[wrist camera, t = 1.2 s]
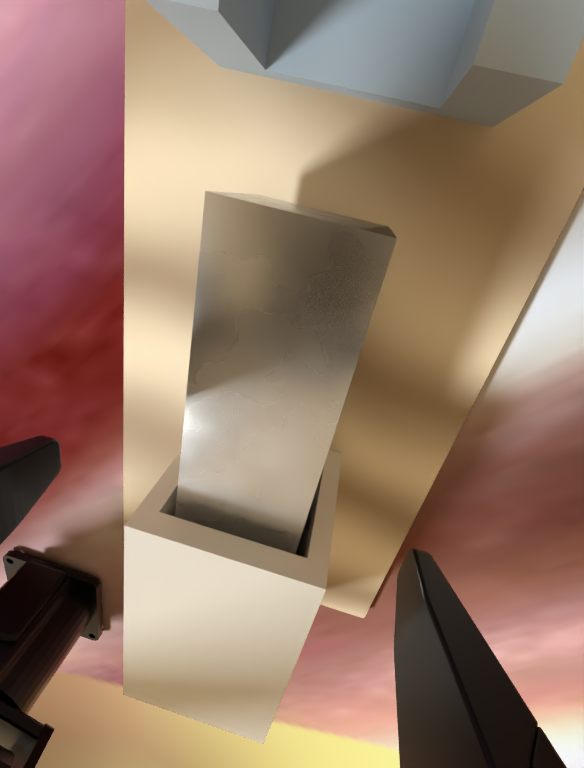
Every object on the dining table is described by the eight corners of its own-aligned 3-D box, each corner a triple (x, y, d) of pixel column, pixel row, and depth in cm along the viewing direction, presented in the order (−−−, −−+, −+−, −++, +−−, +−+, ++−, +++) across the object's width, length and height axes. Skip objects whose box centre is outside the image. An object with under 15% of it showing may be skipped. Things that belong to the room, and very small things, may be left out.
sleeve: (292, 595, 21) (263, 744, 15) (189, 562, 21) (123, 694, 15) (341, 453, 16) (325, 589, 10) (208, 414, 17) (124, 525, 11)
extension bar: (277, 587, 19) (255, 676, 15) (201, 562, 19) (162, 644, 16) (388, 226, 11) (397, 238, 7) (257, 194, 11) (205, 190, 8)
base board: (364, 609, 21) (364, 618, 20) (128, 534, 22) (123, 541, 21) (793, -248, 8) (821, -277, 7) (139, -342, 9) (126, -372, 8)
